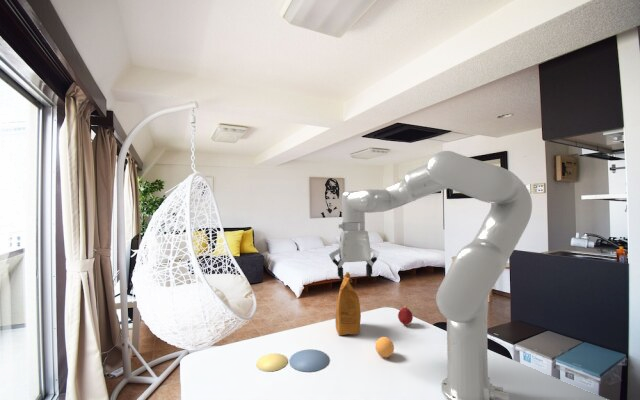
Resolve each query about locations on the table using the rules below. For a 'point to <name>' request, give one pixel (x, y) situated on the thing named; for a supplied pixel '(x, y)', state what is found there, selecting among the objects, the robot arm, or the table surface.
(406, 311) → the onion
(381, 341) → the ball
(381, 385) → the table surface
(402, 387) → the table surface
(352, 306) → the coffee package
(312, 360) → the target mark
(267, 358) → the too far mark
